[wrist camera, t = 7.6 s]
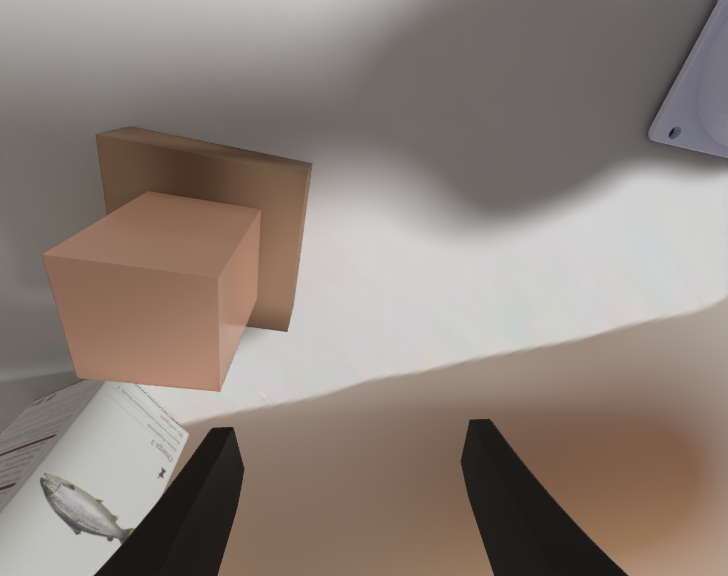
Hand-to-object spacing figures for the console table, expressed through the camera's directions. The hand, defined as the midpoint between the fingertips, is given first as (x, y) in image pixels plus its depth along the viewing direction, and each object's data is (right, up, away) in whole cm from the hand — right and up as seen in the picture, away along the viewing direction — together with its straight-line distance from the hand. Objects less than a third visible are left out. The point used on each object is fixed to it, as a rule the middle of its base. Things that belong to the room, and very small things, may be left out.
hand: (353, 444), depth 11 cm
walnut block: (-7, +8, +8) cm, 13 cm away
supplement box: (-17, -4, +14) cm, 22 cm away
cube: (-7, +7, +5) cm, 11 cm away
